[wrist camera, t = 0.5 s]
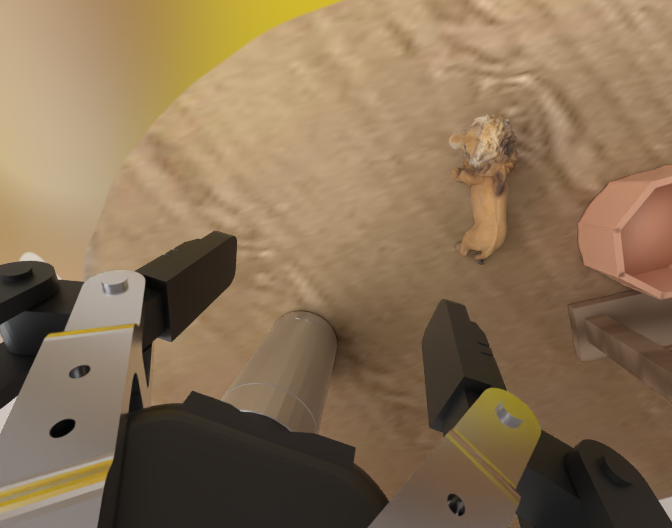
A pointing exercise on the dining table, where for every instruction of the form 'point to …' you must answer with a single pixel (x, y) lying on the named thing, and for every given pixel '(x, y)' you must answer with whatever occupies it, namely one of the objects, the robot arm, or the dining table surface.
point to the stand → (627, 335)
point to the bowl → (632, 232)
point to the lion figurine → (486, 181)
